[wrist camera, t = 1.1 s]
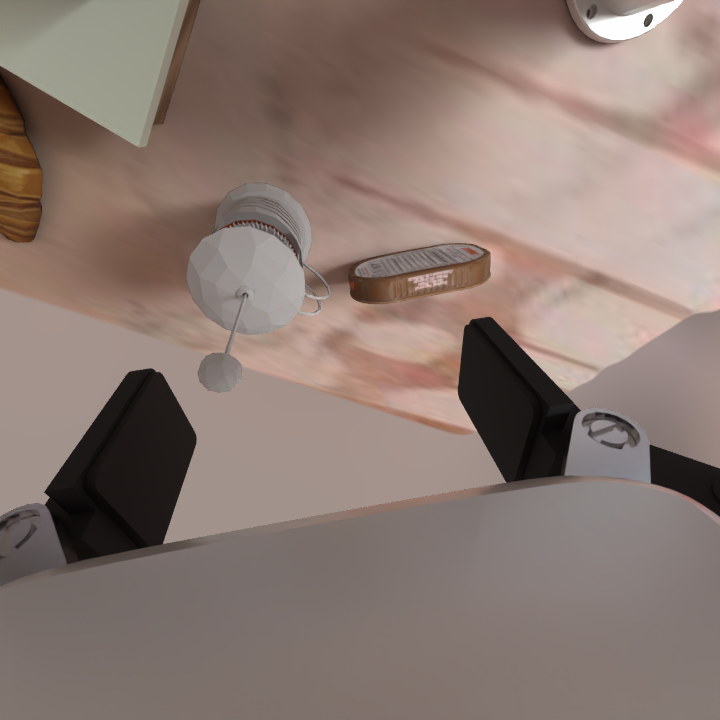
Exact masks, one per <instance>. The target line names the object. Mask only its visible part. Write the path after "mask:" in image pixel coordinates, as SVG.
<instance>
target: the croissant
mask: <svg viewBox="0 0 720 720" xmlns="http://www.w3.org/2000/svg"><path fill="white" fill-rule="evenodd" d="M42 181H43V174H42V170H41V167H40V164H39V161H38V159H37V156H36V153H35V151H34V148H33V146H32V144H31V142H30V140H29V138H28V136H27V134H26V132H25V123H24V119H23V117H22V115H21V113H20V111H19V109H18V107H17V104H16V102H15V100H14V98H13V96H12V94H11V92H10V90H9V89H8V87H7V85H6V84H5V82H4V81H3V79H2V77H1V76H0V233H2V234H3V235H4V236H5V237H6V238H7V239H9V240H12V241H14V242H31V241H32V240H33V239H34V238H35V235H36V232H37V229H38V227H39V222H40V217H41V214H42V206H41V203H40V199H41V196H42Z"/></svg>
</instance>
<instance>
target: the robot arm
mask: <svg viewBox="0 0 720 720" xmlns="http://www.w3.org/2000/svg"><path fill="white" fill-rule="evenodd" d="M682 1H683V0H566V2H567V5H568V8H569V11H570V13H571V16H572V18H573V20H574V21H575V23H576V25H577V26H578V28H579V29H580V30H581V31H582V32H583V33H584V34H585V35H586V36H587V37H589V38H591V39H593V40H595V41H597V42H603V43H616V42H623V41H626V40H629V39H633V38H636V37H638V36H640V35H643V34H645V33H647V32H648V31H650V30H651V29H653V28H654V27H655V26H657V25H658V24H659V23H661V22H662V21H663V20H665V19H666V18H667V17H668V16H669V15H670V14H671V13H672V12H673V11H674V10H675V9H676V8H677V7H678V6H679V5H680V3H681V2H682ZM458 395H459V399H460V401H461V403H462V405H463V406H464V408H465V410H466V412H467V413H468V415H469V417H470V419H471V421H472V422H473V424H474V426H475V428H476V429H477V431H478V433H479V435H480V436H481V438H482V440H483V442H484V444H485V445H486V447H487V449H488V451H489V452H490V454H491V456H492V458H493V459H494V461H495V463H496V465H497V467H498V468H499V470H500V472H501V474H502V475H503V477H504V479H505V481H506V482H507V483H502V484H496V485H490V486H484V487H477V488H471V489H465V490H459V491H454V492H449V493H442V494H437V495H431V496H425V497H420V498H414V499H408V500H403V501H397V502H391V503H386V504H380V505H374V506H368V507H363V508H357V509H352V510H346V511H341V512H335V513H330V514H324V515H318V516H313V517H308V518H302V519H297V520H291V521H286V522H280V523H275V524H269V525H264V526H258V527H253V528H247V529H242V530H237V531H231V532H226V533H220V534H215V535H210V536H205V537H199V538H194V539H188V540H184V541H178V542H172V543H167V544H163V541H164V538H165V535H166V532H167V529H168V527H169V523H170V521H171V518H172V514H173V511H174V508H175V506H176V502H177V500H178V497H179V494H180V491H181V488H182V485H183V482H184V479H185V476H186V473H187V470H188V467H189V464H190V461H191V458H192V455H193V452H194V449H195V445H196V440H197V439H196V434H195V432H194V430H193V428H192V426H191V424H190V423H189V421H188V419H187V417H186V415H185V414H184V412H183V410H182V408H181V406H180V405H179V403H178V401H177V399H176V397H175V396H174V394H173V392H172V390H171V389H170V387H169V385H168V383H167V382H166V380H165V378H164V376H163V375H162V374H161V373H160V372H156V371H155V370H154V369H151V368H150V369H143V370H136V371H131V372H129V373H128V374H127V375H126V376H125V378H124V379H123V381H122V382H121V383H120V385H119V386H118V388H117V389H116V391H115V392H114V393H113V395H112V396H111V398H110V399H109V401H108V402H107V403H106V405H105V406H104V408H103V409H102V411H101V412H100V413H99V415H98V416H97V418H96V419H95V421H94V422H93V423H92V425H91V426H90V428H89V429H88V431H87V432H86V433H85V435H84V436H83V438H82V439H81V441H80V442H79V443H78V445H77V446H76V448H75V449H74V450H73V452H72V453H71V455H70V456H69V458H68V459H67V460H66V462H65V463H64V465H63V466H62V467H61V469H60V470H59V472H58V473H57V475H56V476H55V477H54V479H53V480H52V482H51V483H50V485H49V486H48V487H47V489H46V490H45V492H44V493H46V494H47V495H48V496H49V497H50V498H49V499H48V501H47V502H46V504H45V505H43V504H39V503H34V504H27V505H24V506H21V507H18V508H15V509H13V510H11V511H9V512H7V513H5V514H3V515H2V516H1V517H0V720H720V469H719V468H717V467H714V466H711V465H708V464H705V463H702V462H699V461H696V460H693V459H690V458H687V457H684V456H682V455H679V454H676V453H673V452H670V451H667V450H664V449H661V448H658V447H655V446H652V445H649V439H648V436H647V434H646V432H645V431H644V429H643V428H642V427H641V426H640V425H639V424H637V423H636V422H635V421H634V420H632V419H631V418H629V417H627V416H625V415H624V414H621V413H619V412H616V411H613V410H609V409H603V408H589V409H584V410H582V411H581V410H580V409H579V408H578V407H577V406H576V405H575V404H574V403H573V401H572V400H571V399H570V398H569V397H568V396H567V395H566V394H565V393H564V392H563V391H562V390H561V389H560V388H559V387H558V386H557V385H556V384H555V383H554V382H553V381H552V380H551V379H550V378H549V376H548V375H547V374H546V373H545V372H544V371H543V370H542V369H541V368H540V367H539V366H538V365H537V364H536V363H535V362H534V361H533V360H532V359H531V358H530V357H529V356H528V355H527V354H526V353H525V352H524V351H523V350H522V348H521V347H520V346H519V345H518V344H517V343H516V342H515V341H514V340H513V339H512V338H511V337H510V336H509V335H508V334H507V333H506V332H505V331H504V330H503V329H502V328H501V327H500V326H499V325H498V324H497V323H496V321H495V320H494V319H493V318H491V317H485V318H478V319H472V320H471V321H470V323H469V325H466V326H465V328H464V336H463V345H462V355H461V365H460V374H459V384H458Z"/></svg>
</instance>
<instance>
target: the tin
mask: <svg viewBox="0 0 720 720" xmlns="http://www.w3.org/2000/svg"><path fill="white" fill-rule="evenodd" d="M490 276H491V273H490V252H489V251H487V250H486V249H484V248H481V247H479V246H477V245H474V244H465V243H455V244H444V245H437V246H432V247H426V248H420V249H414V250H409V251H404V252H398V253H393V254H388V255H382V256H378V257H373V258H370V259H367V260H364V261H361V262H359V263H357V264H356V265H354V266H353V267H352V268H351V269H350V271H349V275H348V277H349V283H350V289H351V291H350V295H351V297H352V298H353V299H354V300H356V301H359V302H362V303H367V304H389V303H396V302H401V301H406V300H411V299H417V298H422V297H427V296H432V295H438V294H443V293H449V292H454V291H459V290H465V289H469V288H473V287H476V286H479V285H481V284H483V283H485V282H486V281H488V280H489V278H490Z"/></svg>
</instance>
